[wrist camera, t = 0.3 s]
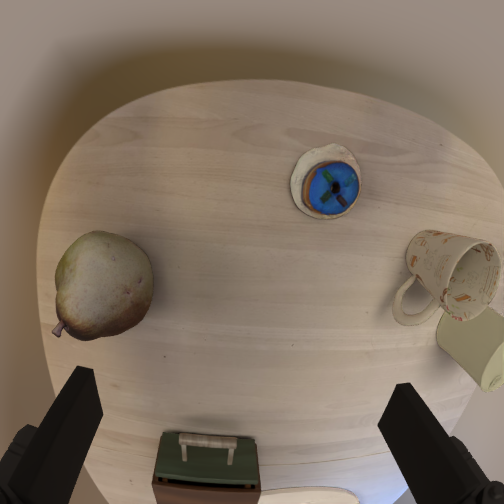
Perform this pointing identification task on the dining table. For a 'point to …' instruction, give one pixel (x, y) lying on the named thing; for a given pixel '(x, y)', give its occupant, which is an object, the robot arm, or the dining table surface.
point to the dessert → (326, 182)
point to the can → (476, 346)
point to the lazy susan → (308, 496)
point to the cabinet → (203, 492)
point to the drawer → (207, 461)
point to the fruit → (102, 286)
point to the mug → (450, 275)
